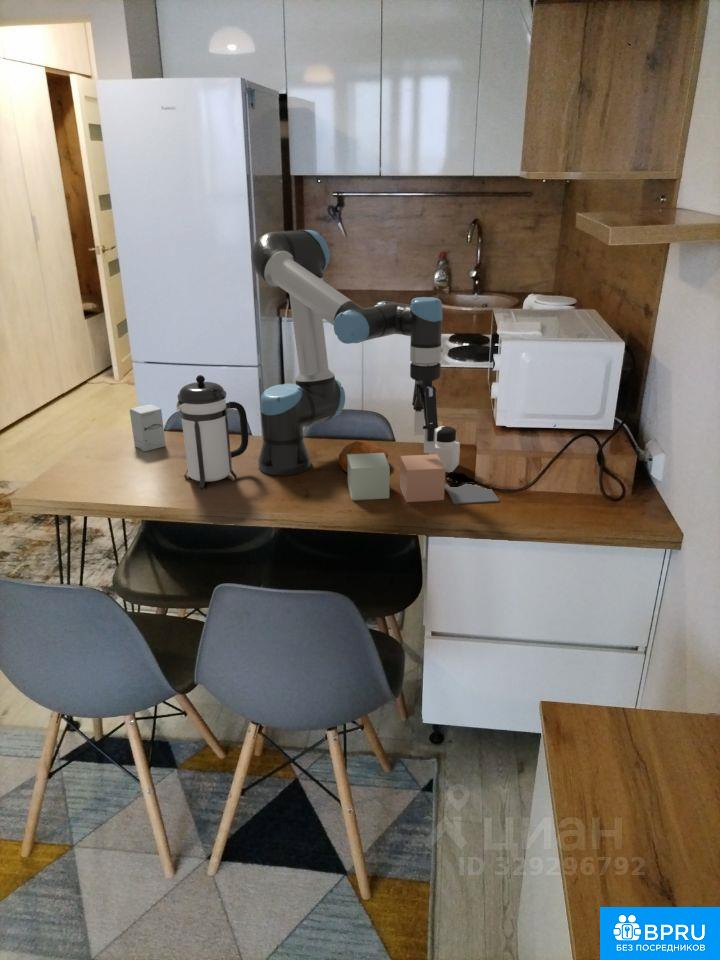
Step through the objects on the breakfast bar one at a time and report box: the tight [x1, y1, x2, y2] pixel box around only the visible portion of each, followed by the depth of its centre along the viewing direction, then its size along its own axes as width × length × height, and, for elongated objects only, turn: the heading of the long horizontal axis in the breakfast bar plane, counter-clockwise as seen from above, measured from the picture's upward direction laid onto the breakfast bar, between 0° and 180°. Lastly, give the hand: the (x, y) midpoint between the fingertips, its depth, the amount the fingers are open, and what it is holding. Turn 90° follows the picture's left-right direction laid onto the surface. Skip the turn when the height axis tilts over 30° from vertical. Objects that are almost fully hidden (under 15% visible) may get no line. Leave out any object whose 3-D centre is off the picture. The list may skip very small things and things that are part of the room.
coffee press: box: [175, 374, 249, 490], centre depth 190 cm, size 17×16×30 cm
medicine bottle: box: [428, 425, 461, 474], centre depth 199 cm, size 7×7×12 cm
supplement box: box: [129, 403, 167, 453], centre depth 216 cm, size 7×7×13 cm
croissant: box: [338, 440, 389, 473], centre depth 202 cm, size 14×16×8 cm
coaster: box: [444, 482, 500, 505], centre depth 185 cm, size 12×12×1 cm
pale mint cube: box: [347, 453, 391, 501], centre depth 185 cm, size 10×10×9 cm
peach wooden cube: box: [399, 454, 446, 503], centre depth 183 cm, size 10×10×9 cm
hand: (423, 443), depth 179 cm, fingers open, 13 cm apart
